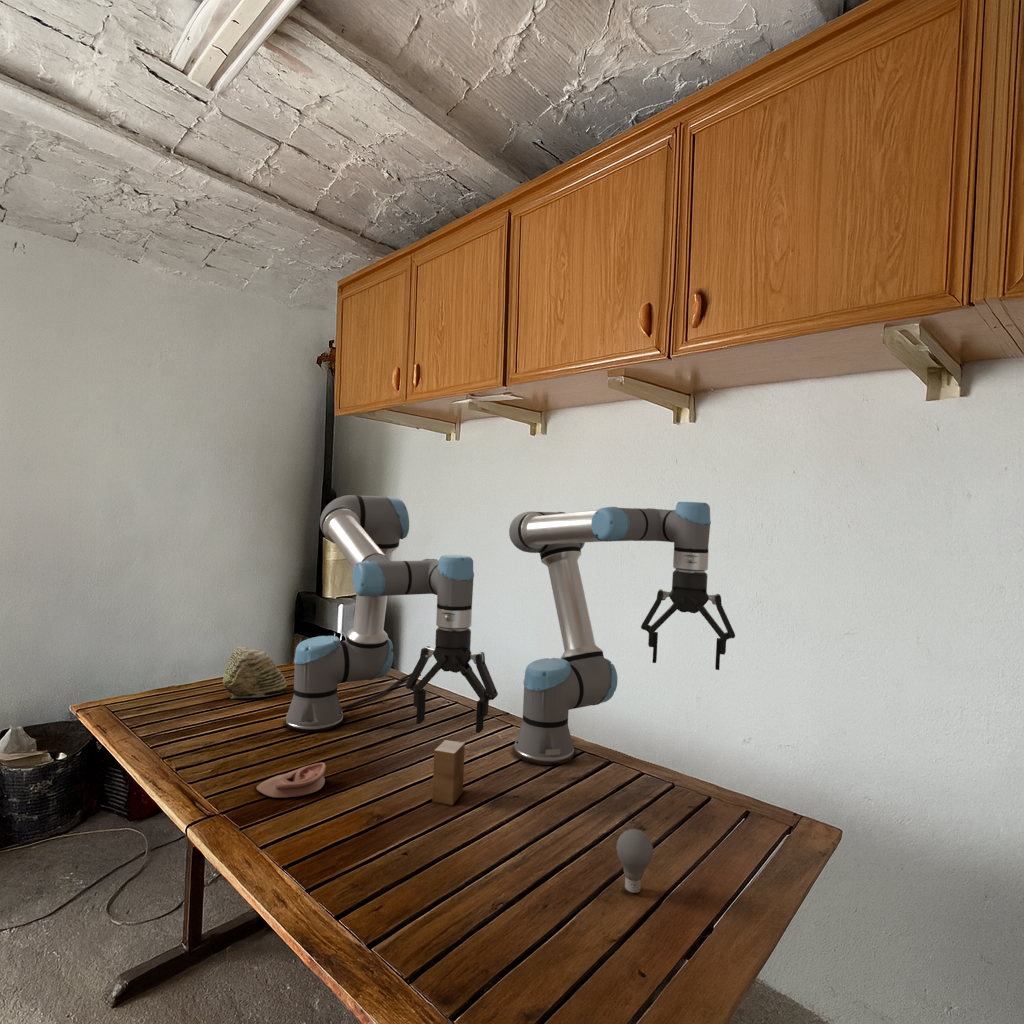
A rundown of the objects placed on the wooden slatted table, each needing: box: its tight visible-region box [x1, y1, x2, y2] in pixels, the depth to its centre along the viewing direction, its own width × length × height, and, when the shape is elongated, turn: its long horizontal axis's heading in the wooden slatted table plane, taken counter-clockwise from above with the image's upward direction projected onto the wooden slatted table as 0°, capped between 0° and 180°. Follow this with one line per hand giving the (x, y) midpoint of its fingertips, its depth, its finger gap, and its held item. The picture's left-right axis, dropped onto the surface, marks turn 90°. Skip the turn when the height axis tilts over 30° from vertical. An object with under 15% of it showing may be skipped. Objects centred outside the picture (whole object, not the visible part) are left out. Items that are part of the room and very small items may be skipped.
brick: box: [431, 739, 466, 806], centre depth 136 cm, size 6×5×11 cm
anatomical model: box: [256, 762, 327, 799], centre depth 137 cm, size 13×4×12 cm
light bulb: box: [615, 828, 654, 894], centre depth 106 cm, size 6×6×10 cm
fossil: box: [222, 646, 288, 699], centre depth 198 cm, size 9×18×15 cm, turn 132°
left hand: (449, 726), depth 136 cm, fingers open, 13 cm apart
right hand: (685, 665), depth 142 cm, fingers open, 13 cm apart
